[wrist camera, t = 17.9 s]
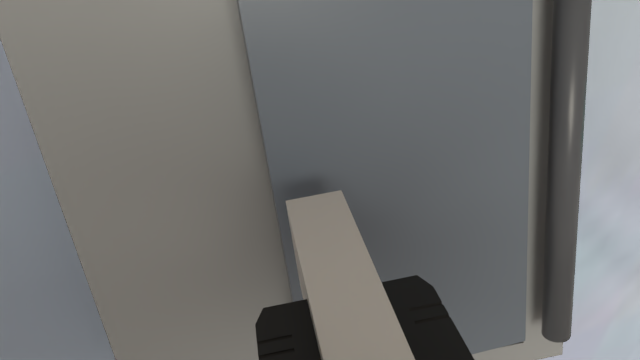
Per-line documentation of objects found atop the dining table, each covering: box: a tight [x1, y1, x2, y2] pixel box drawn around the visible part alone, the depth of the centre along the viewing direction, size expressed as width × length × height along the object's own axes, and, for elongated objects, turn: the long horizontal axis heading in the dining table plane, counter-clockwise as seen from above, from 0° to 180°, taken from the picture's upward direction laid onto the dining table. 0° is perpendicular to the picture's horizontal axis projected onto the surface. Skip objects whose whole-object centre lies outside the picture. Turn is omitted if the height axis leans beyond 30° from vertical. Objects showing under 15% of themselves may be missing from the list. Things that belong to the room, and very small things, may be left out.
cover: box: [237, 0, 592, 354], centre depth 19 cm, size 10×14×1 cm
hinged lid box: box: [0, 0, 563, 360], centre depth 21 cm, size 17×18×4 cm
